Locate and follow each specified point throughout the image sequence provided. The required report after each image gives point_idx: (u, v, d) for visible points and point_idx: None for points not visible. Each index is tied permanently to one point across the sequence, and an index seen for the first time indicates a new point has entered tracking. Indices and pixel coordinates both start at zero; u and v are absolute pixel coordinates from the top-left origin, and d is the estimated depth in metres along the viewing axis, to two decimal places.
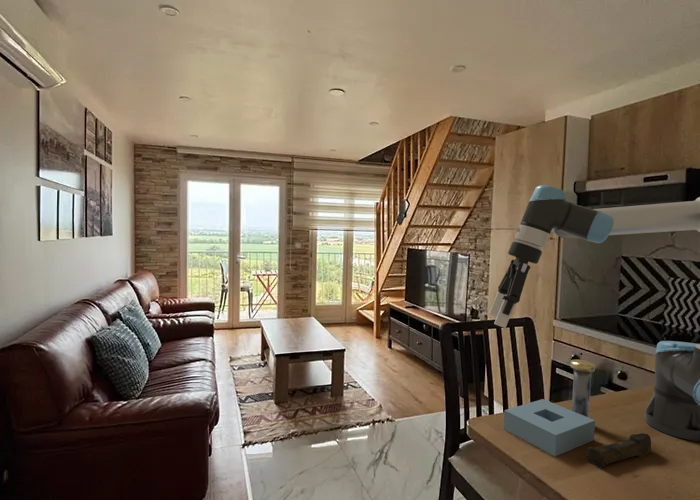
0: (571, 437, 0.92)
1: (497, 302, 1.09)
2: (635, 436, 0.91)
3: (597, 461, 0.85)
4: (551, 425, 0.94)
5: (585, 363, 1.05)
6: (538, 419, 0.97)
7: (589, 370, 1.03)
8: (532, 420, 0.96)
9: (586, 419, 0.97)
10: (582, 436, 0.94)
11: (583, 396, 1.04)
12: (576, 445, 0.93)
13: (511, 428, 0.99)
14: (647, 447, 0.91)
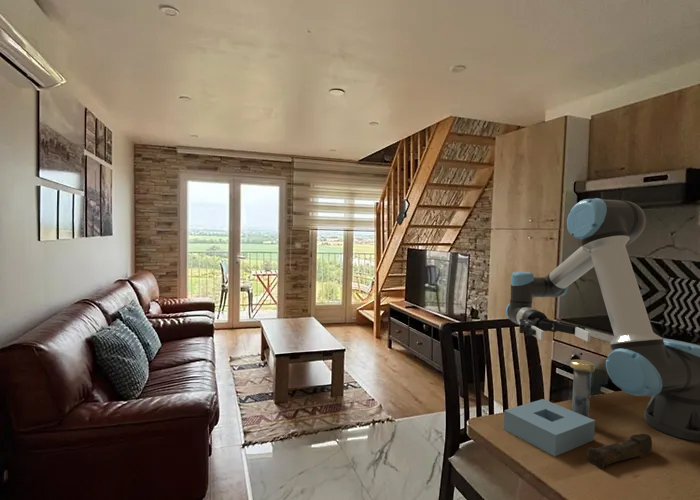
0: (571, 437, 0.92)
1: (580, 335, 1.18)
2: (636, 436, 0.91)
3: (598, 462, 0.85)
4: (551, 425, 0.94)
5: (585, 363, 1.05)
6: (538, 419, 0.97)
7: (589, 370, 1.03)
8: (532, 420, 0.96)
9: (586, 419, 0.97)
10: (582, 436, 0.94)
11: (583, 396, 1.04)
12: (576, 445, 0.93)
13: (511, 428, 0.99)
14: (648, 447, 0.91)
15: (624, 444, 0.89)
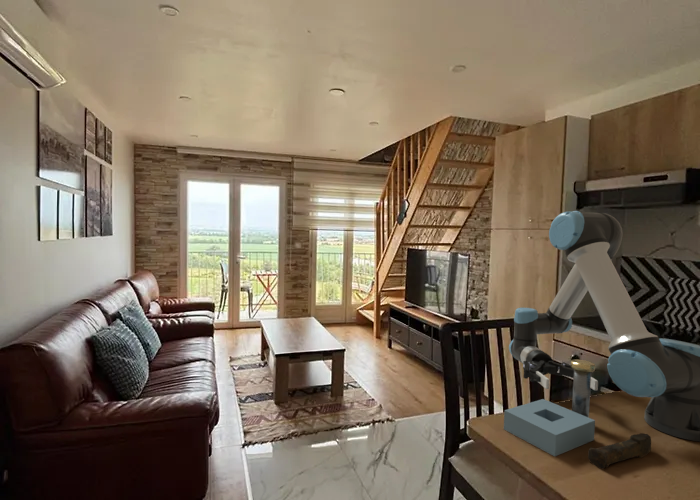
0: (571, 437, 0.92)
1: None
2: (636, 436, 0.91)
3: (599, 462, 0.85)
4: (551, 425, 0.94)
5: (585, 363, 1.05)
6: (538, 419, 0.97)
7: (589, 370, 1.03)
8: (532, 420, 0.96)
9: (586, 419, 0.97)
10: (582, 436, 0.94)
11: (583, 396, 1.04)
12: (576, 445, 0.93)
13: (511, 428, 0.99)
14: (647, 447, 0.91)
15: (624, 444, 0.89)
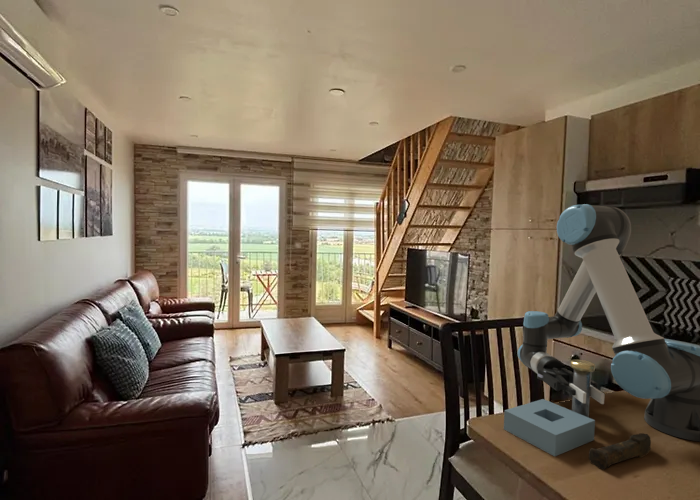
0: (571, 437, 0.92)
1: (592, 395, 1.04)
2: (635, 436, 0.91)
3: (600, 463, 0.85)
4: (551, 425, 0.94)
5: (585, 363, 1.05)
6: (538, 419, 0.97)
7: (589, 370, 1.03)
8: (532, 420, 0.96)
9: (586, 419, 0.97)
10: (582, 436, 0.94)
11: None
12: (576, 445, 0.93)
13: (511, 428, 0.99)
14: (647, 447, 0.91)
15: (624, 444, 0.89)
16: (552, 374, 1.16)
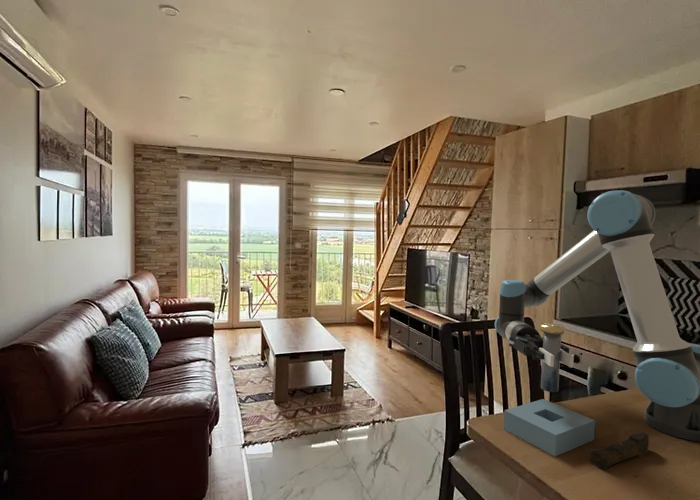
0: (571, 437, 0.92)
1: (562, 359, 0.98)
2: (634, 436, 0.91)
3: (601, 463, 0.85)
4: (551, 425, 0.94)
5: (555, 326, 0.99)
6: (538, 419, 0.97)
7: (558, 332, 0.97)
8: (532, 420, 0.96)
9: (586, 419, 0.97)
10: (582, 436, 0.94)
11: None
12: (576, 445, 0.93)
13: (511, 428, 0.99)
14: (646, 446, 0.91)
15: (624, 444, 0.89)
16: (524, 341, 1.10)
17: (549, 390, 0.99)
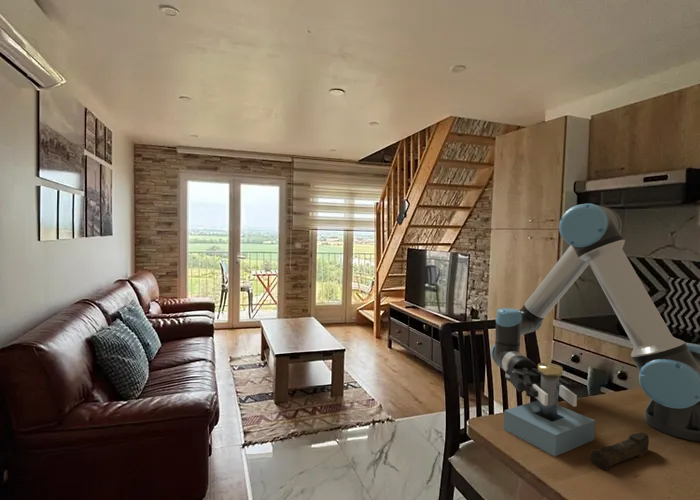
0: (571, 437, 0.92)
1: (564, 396, 0.98)
2: (634, 436, 0.91)
3: (602, 464, 0.84)
4: (551, 425, 0.94)
5: (552, 367, 0.98)
6: (538, 419, 0.97)
7: (556, 374, 0.96)
8: (532, 420, 0.96)
9: (586, 419, 0.97)
10: (582, 436, 0.94)
11: (550, 402, 0.97)
12: (576, 445, 0.93)
13: (511, 428, 0.99)
14: (646, 446, 0.91)
15: (624, 444, 0.89)
16: (521, 375, 1.09)
17: None
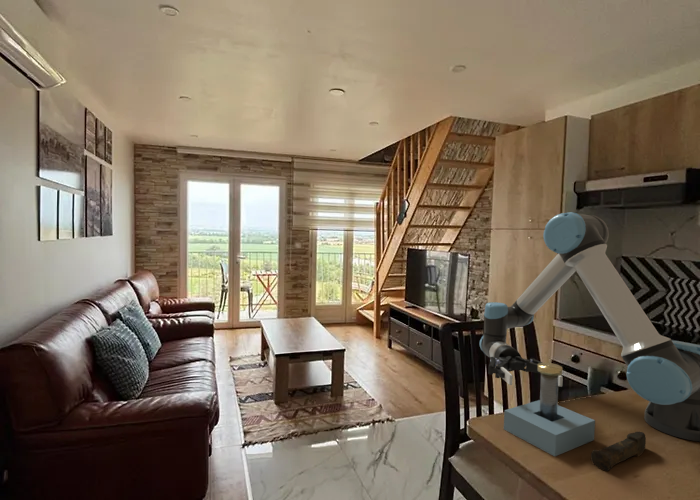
0: (571, 437, 0.92)
1: None
2: (632, 435, 0.92)
3: (603, 464, 0.84)
4: (551, 425, 0.94)
5: (552, 366, 0.98)
6: (538, 419, 0.97)
7: (556, 374, 0.96)
8: (532, 420, 0.96)
9: (586, 419, 0.97)
10: (582, 436, 0.94)
11: (550, 402, 0.97)
12: (576, 445, 0.93)
13: (511, 428, 0.99)
14: (643, 445, 0.92)
15: (623, 444, 0.89)
16: (502, 362, 1.19)
17: None
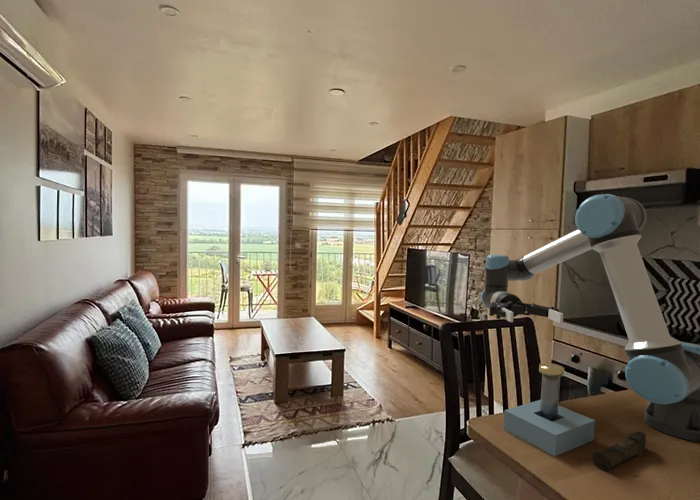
0: (571, 437, 0.92)
1: (553, 317, 1.11)
2: (633, 435, 0.92)
3: (604, 465, 0.84)
4: (551, 425, 0.94)
5: (554, 367, 0.98)
6: (538, 419, 0.97)
7: (558, 375, 0.96)
8: (532, 420, 0.96)
9: (586, 419, 0.97)
10: (582, 436, 0.94)
11: (551, 402, 0.97)
12: (576, 445, 0.93)
13: (511, 428, 0.99)
14: (644, 445, 0.91)
15: (624, 444, 0.89)
16: None
17: None
